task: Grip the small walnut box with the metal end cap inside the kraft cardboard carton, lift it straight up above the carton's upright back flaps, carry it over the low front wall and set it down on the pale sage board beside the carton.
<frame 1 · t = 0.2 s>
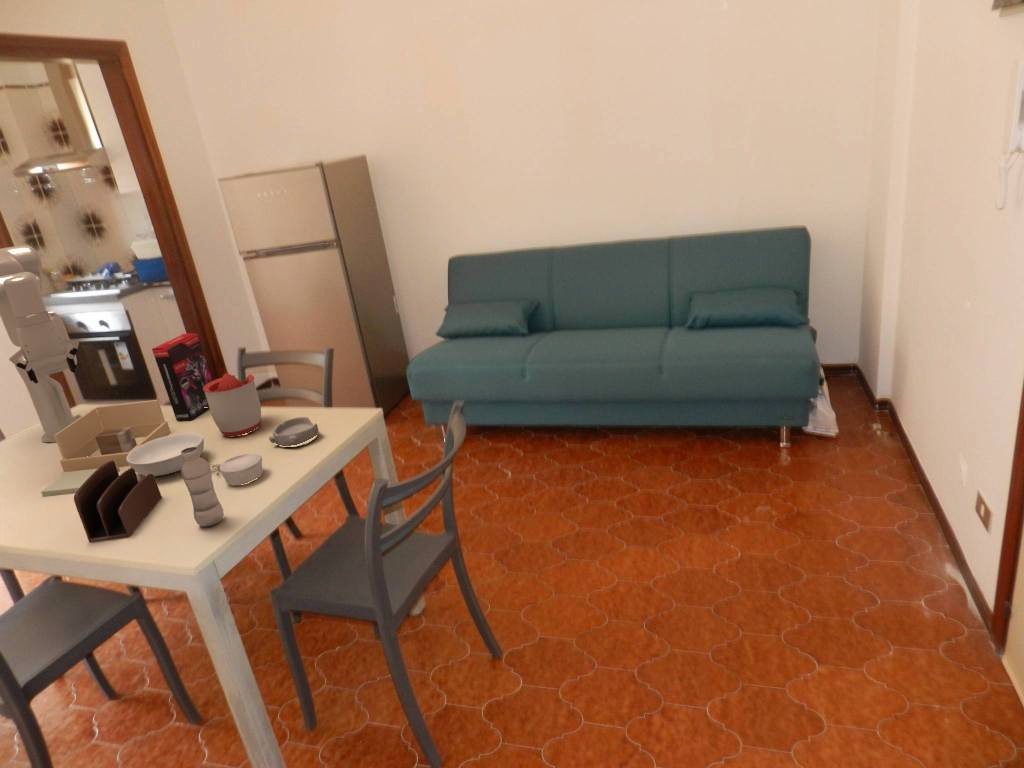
hand: (54, 377, 199), 30 cm above the table, tool pointing down, fingers open, 9 cm apart
letter holder: (128, 520, 177), on the table
citrus juicer: (243, 429, 227), on the table
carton: (120, 451, 221), on the table
serving bowl: (172, 468, 205), on the table
plastic bottle: (212, 523, 170), on the table
graphics card box: (197, 412, 248), on the table
walnut box: (116, 441, 220), in the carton
board: (82, 483, 202), on the table
dish: (297, 441, 213), on the table
ramekin: (245, 479, 191), on the table
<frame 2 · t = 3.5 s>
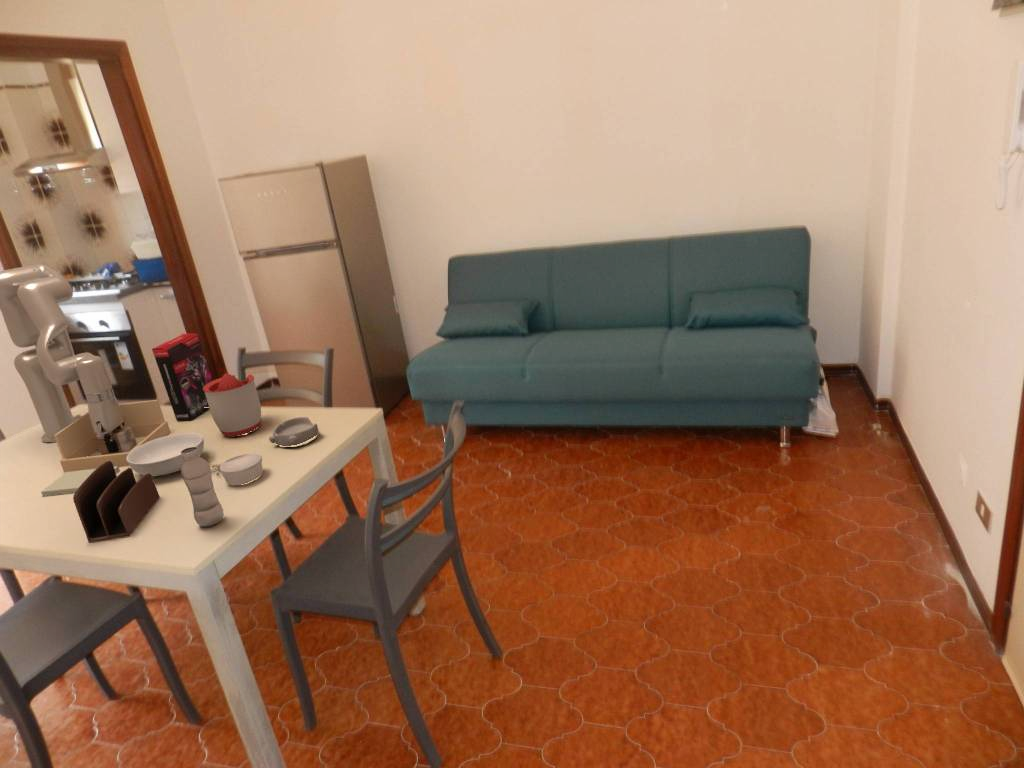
hand: (118, 447, 221), 1 cm above the table, tool pointing down, fingers closed on walnut box, 5 cm apart
walnut box: (116, 441, 220), in the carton, touching gripper
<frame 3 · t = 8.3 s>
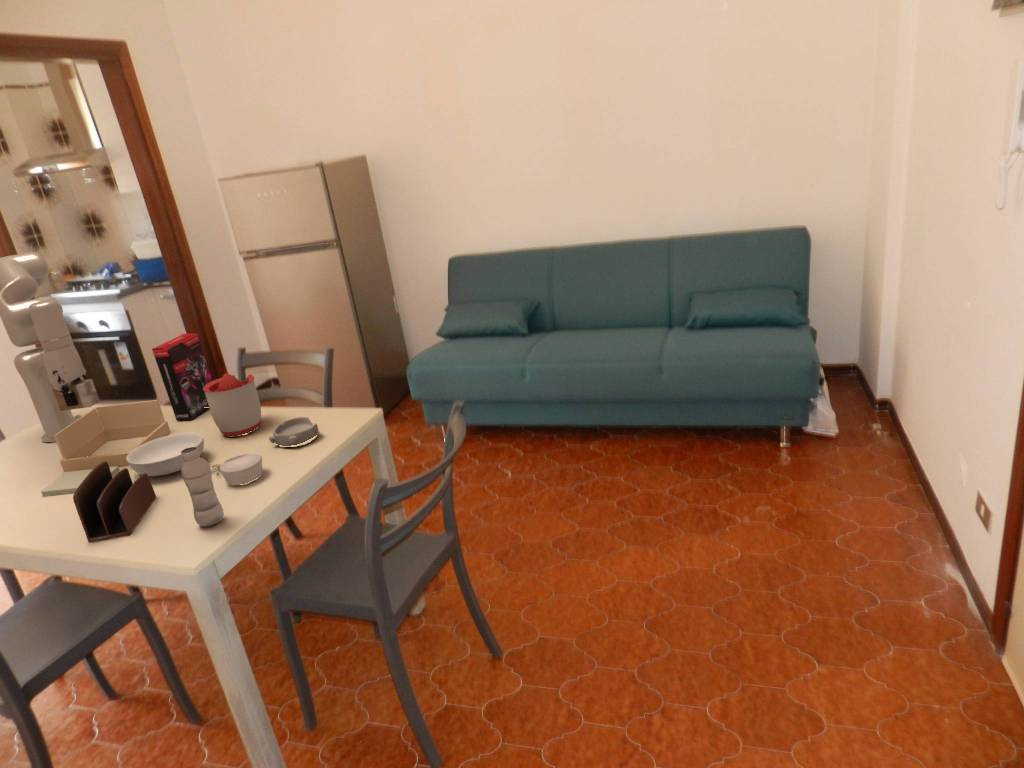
hand: (78, 401, 204), 22 cm above the table, tool pointing down, fingers closed on walnut box, 5 cm apart
walnut box: (76, 394, 203), point 24 cm above the table, touching gripper
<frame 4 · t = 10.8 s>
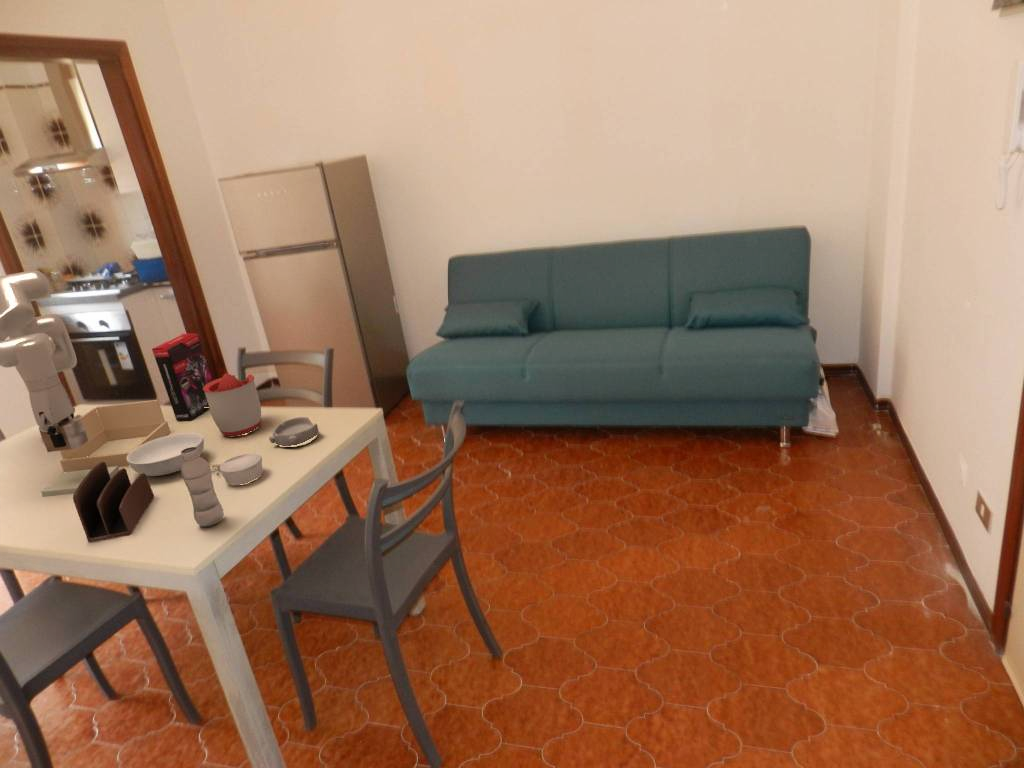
hand: (66, 441, 197), 13 cm above the table, tool pointing down, fingers closed on walnut box, 5 cm apart
walnut box: (64, 435, 196), point 16 cm above the table, touching gripper
when the fingers open (4 cm above the table, at t = 13.2 s): walnut box drops 1 cm, resting on board.
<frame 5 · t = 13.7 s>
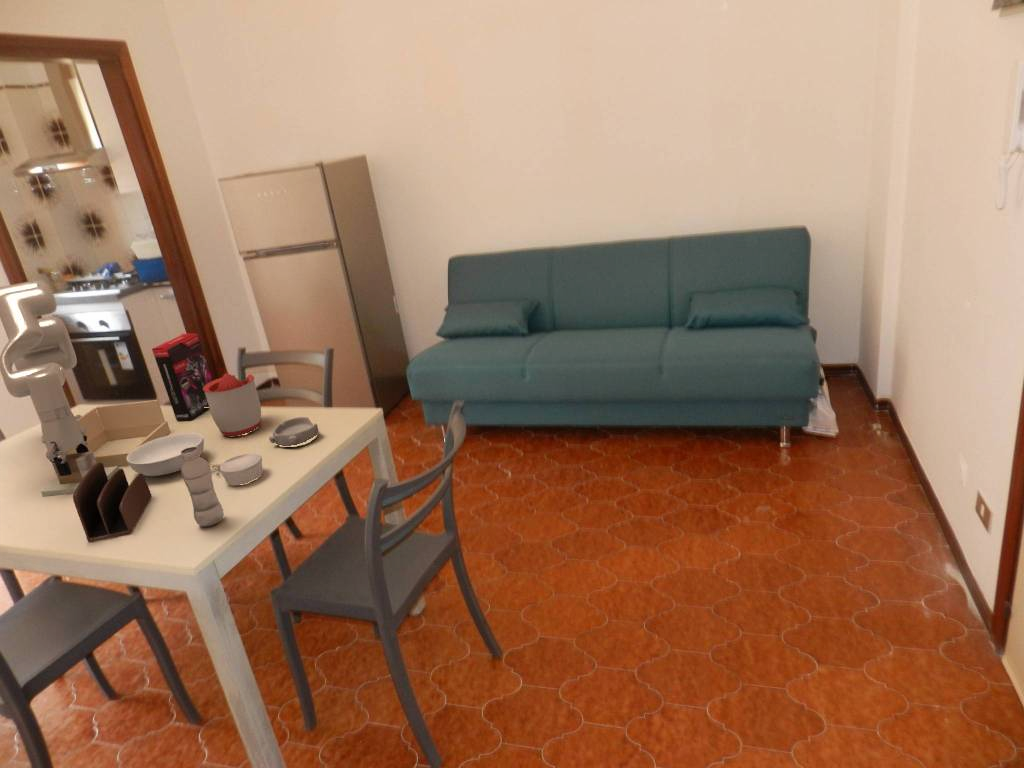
hand: (76, 467, 200), 5 cm above the table, tool pointing down, fingers open, 9 cm apart
walnut box: (76, 467, 200), on the board, point 5 cm above the table
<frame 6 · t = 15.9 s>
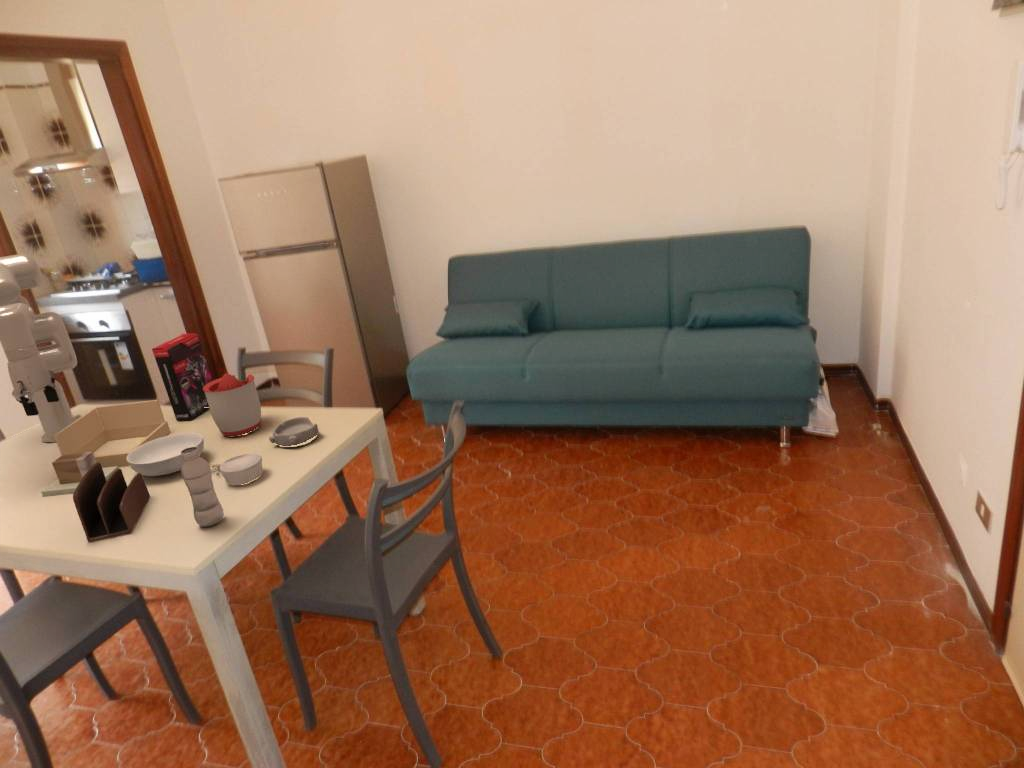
hand: (43, 408, 200), 22 cm above the table, tool pointing down, fingers open, 9 cm apart
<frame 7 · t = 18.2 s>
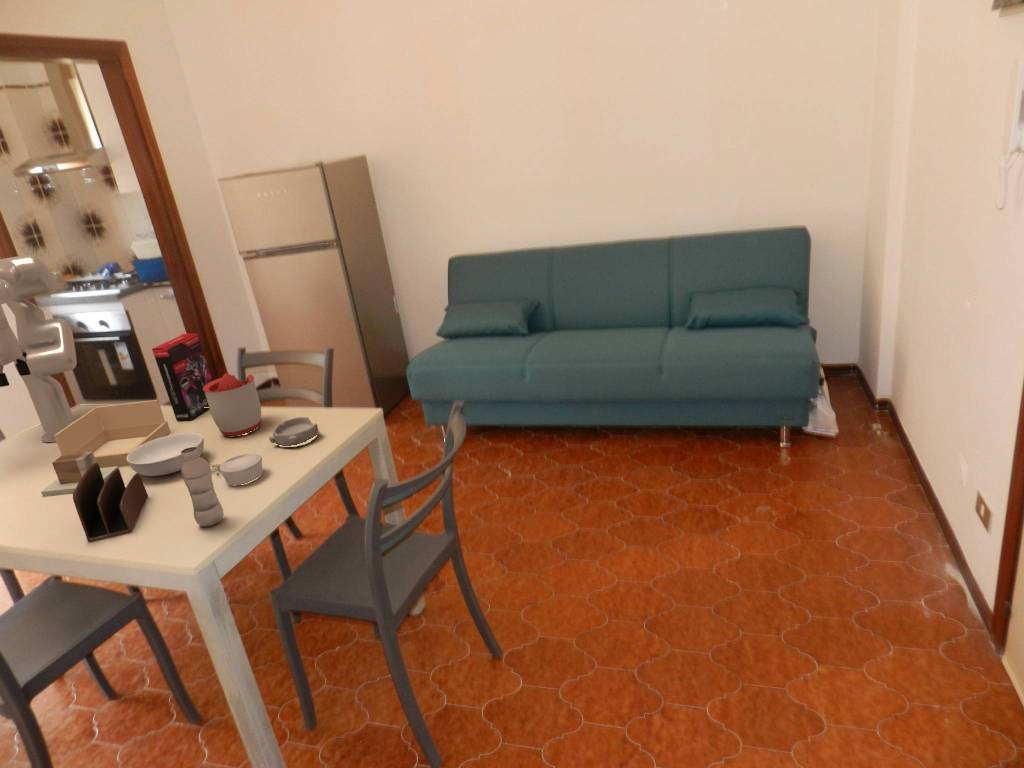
hand: (14, 380, 209), 28 cm above the table, tool pointing down, fingers open, 9 cm apart
at the end: walnut box inside the target area on the board (0.1 cm from its centre), point 5.0 cm above the board's base; walnut box tilted 0°; the gripper is holding nothing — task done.
